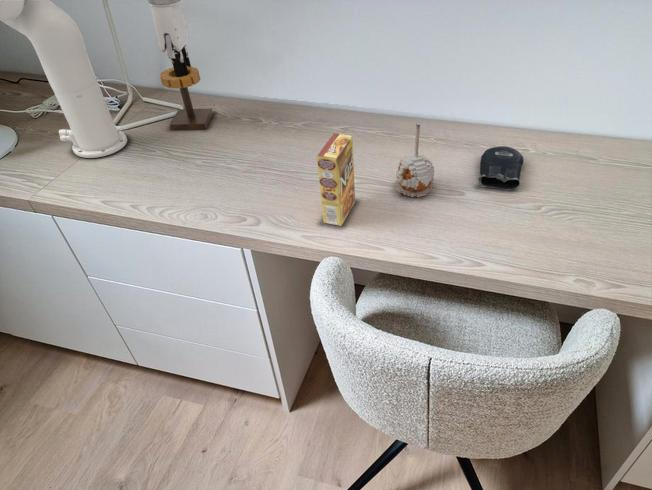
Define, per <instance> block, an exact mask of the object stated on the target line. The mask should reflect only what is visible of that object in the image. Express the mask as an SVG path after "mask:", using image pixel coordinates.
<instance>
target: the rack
mask: <svg viewBox="0 0 652 490" xmlns="http://www.w3.org/2000/svg"><path fill="white" fill-rule="evenodd" d="M179 92H180V95H181V99H182V103H183V106H184V108H178V110H177V111H176V113H175V115H174V116H173V119H172V120H171V121H170V123H169V126H170V130H171V131H182V130H183V131H187V130H188V131H189V130H207V128H208V125H209V124H210V121H211V119H212V117H213V115H214V112H213V108H194V106H193V103H192V98H191V95H190V91H189V87H186V88H184V87H182V88H179Z"/></svg>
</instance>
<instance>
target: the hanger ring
mask: <svg viewBox="0 0 652 490" xmlns="http://www.w3.org/2000/svg"><path fill="white" fill-rule="evenodd" d="M187 69H188V73H189V74H188V75H187V76H183V77H176V75H175V71H174V67H173V66H172V67H170V68H167V69H165V70H163V71H161V72H160V74H159V78H160V80H161V85H162V86H163V87H165V88H167V89H180V88H182V87H184V88H186V87H188V88H189V87H193V86H194V85H197V84H198V83H200V82H201V75H200V71H199V69H198V68H197V67H194V66H191V67H189V66H187Z"/></svg>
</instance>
